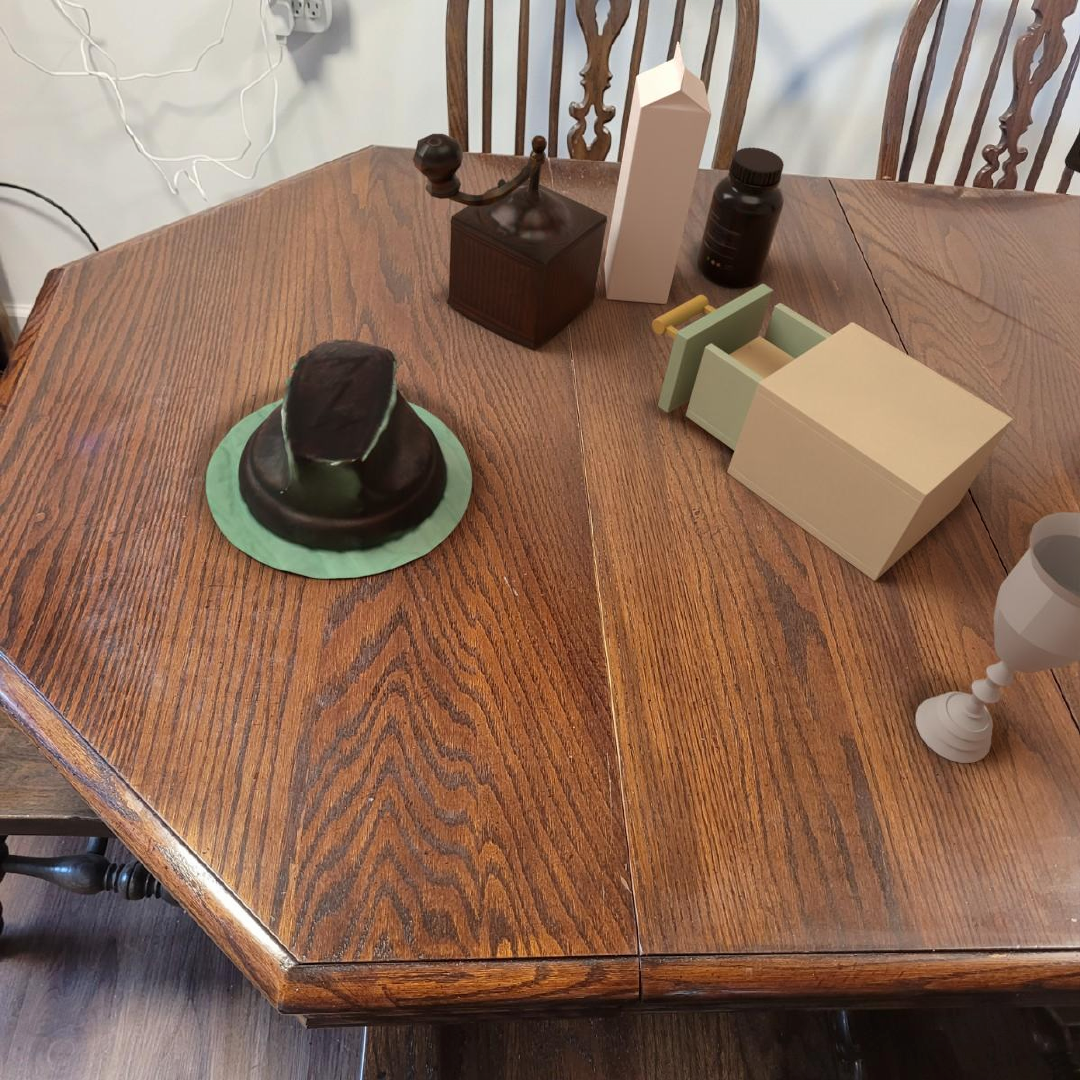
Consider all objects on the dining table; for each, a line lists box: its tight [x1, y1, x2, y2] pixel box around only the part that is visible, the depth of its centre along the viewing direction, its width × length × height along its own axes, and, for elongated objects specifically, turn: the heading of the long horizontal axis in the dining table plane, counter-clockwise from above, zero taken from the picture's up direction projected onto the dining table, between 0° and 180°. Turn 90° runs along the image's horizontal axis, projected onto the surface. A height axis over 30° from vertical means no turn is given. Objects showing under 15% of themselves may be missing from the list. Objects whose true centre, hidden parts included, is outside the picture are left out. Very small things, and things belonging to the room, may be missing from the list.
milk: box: [603, 41, 712, 305], centre depth 85 cm, size 6×6×22 cm
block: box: [729, 335, 795, 379], centre depth 79 cm, size 5×5×5 cm
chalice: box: [915, 511, 1080, 764], centre depth 56 cm, size 7×7×18 cm
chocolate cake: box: [205, 339, 473, 580], centre depth 71 cm, size 15×19×20 cm
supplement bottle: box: [697, 146, 785, 288], centre depth 92 cm, size 7×7×12 cm
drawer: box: [651, 283, 833, 451], centre depth 78 cm, size 18×11×8 cm, turn 44°
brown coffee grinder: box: [412, 133, 608, 350], centre depth 81 cm, size 16×11×18 cm
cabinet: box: [727, 321, 1013, 582], centre depth 74 cm, size 15×13×10 cm
